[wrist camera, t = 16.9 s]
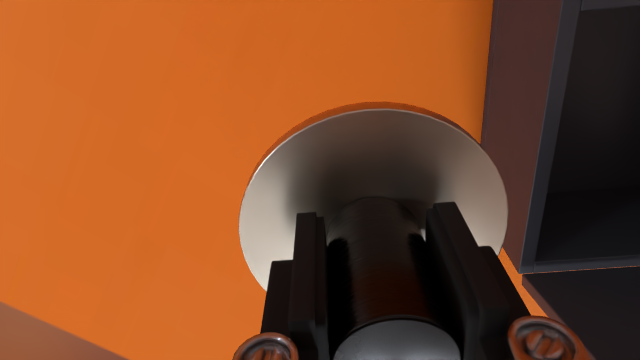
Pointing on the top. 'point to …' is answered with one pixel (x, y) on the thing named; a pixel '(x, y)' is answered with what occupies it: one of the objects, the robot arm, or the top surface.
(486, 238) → the pot lid
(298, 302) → the robot arm
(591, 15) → the dark grey open box
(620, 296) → the black box lid
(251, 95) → the top surface
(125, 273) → the top surface
